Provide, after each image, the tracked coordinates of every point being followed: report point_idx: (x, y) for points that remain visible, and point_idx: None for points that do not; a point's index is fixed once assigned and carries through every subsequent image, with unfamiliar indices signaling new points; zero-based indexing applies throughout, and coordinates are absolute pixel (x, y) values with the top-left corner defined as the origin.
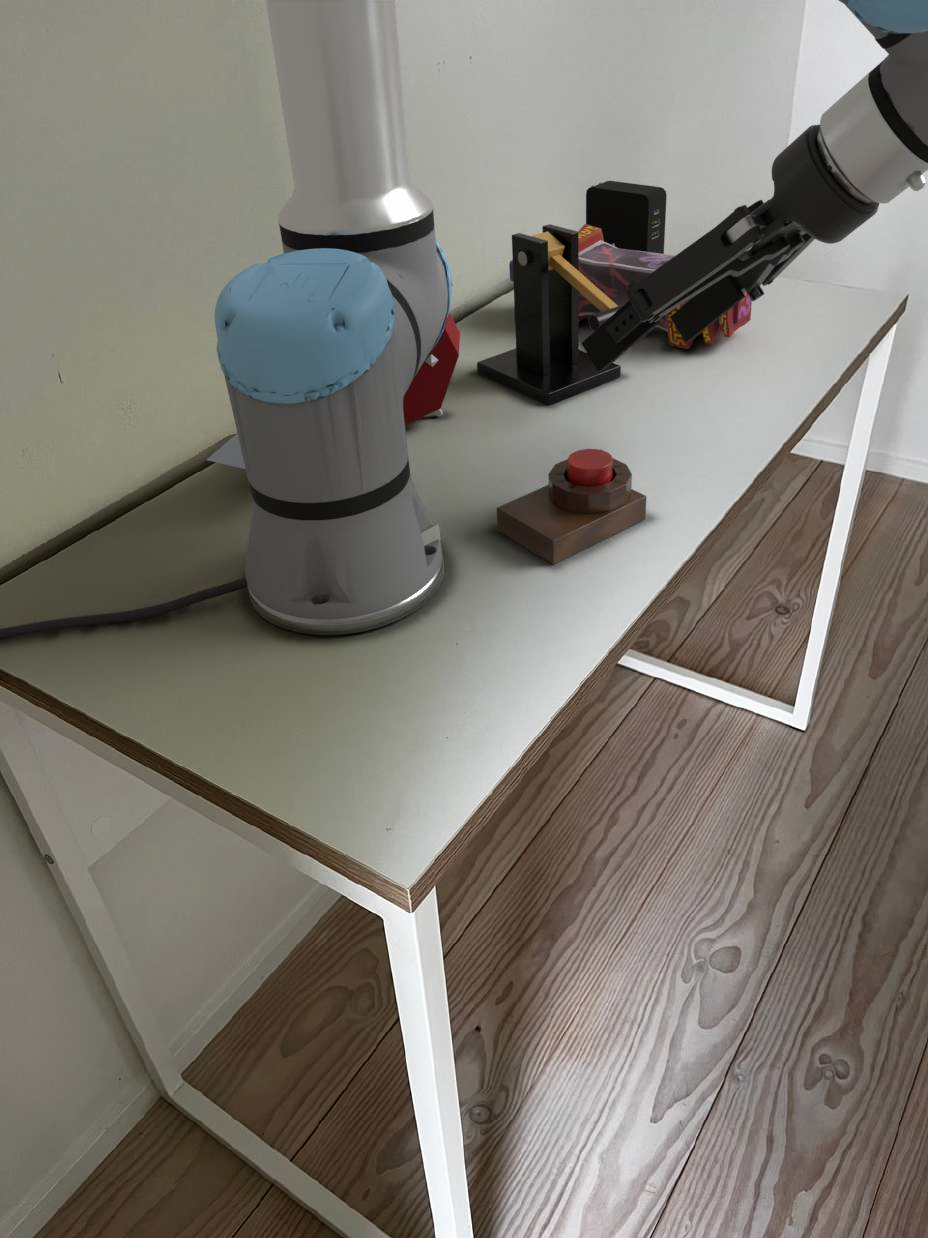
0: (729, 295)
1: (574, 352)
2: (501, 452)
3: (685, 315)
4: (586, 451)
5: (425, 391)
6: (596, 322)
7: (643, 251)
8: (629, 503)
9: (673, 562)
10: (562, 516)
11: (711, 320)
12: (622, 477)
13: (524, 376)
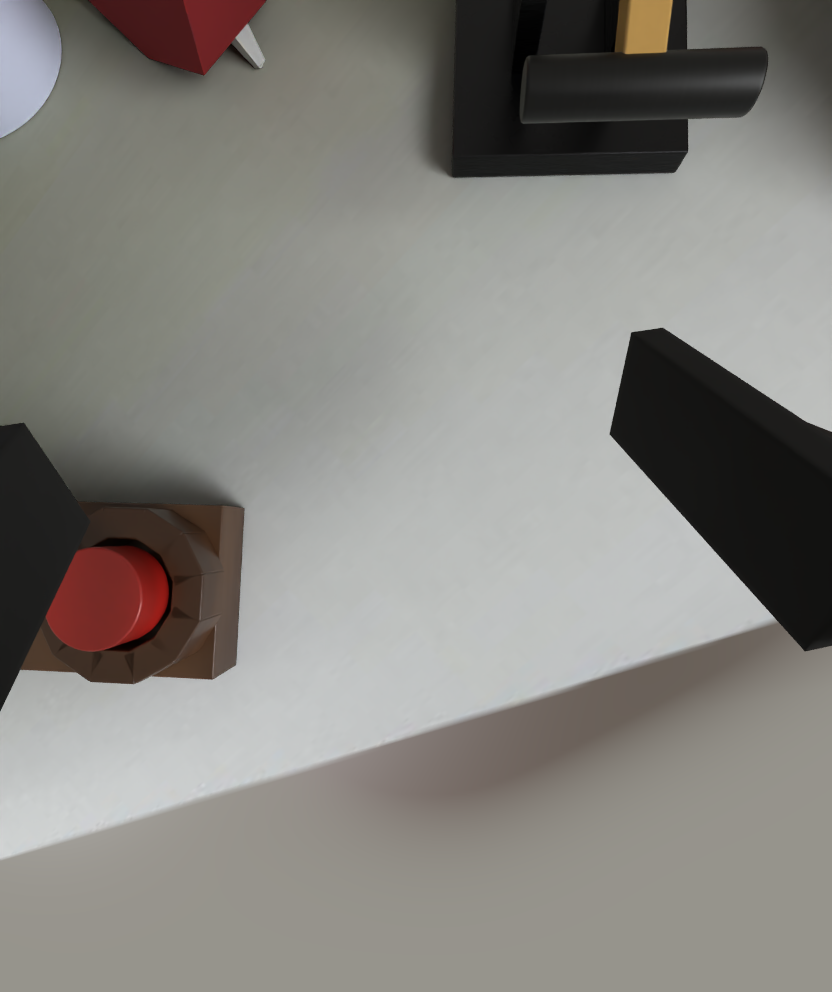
0: (788, 582)
1: None
2: (239, 277)
3: (654, 394)
4: (112, 566)
5: (157, 16)
6: (523, 100)
7: None
8: (167, 676)
9: (163, 799)
10: None
11: (683, 511)
12: (151, 657)
13: (478, 47)
